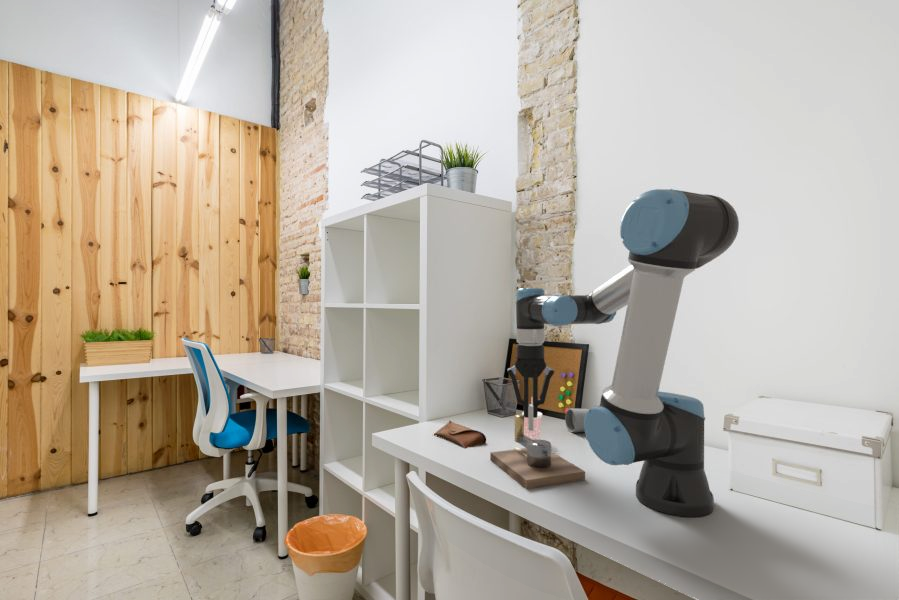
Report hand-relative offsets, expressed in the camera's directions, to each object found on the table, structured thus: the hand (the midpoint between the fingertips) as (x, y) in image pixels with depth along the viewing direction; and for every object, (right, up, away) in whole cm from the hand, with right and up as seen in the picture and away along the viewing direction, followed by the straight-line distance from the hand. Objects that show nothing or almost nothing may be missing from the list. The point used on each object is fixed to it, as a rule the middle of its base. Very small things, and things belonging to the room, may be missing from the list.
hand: (530, 429), depth 125 cm
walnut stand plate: (0, -8, -9) cm, 12 cm away
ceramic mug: (+21, -8, +26) cm, 34 cm away
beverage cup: (+3, -8, +13) cm, 15 cm away
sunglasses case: (-20, -9, +17) cm, 27 cm away
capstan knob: (-1, -5, -6) cm, 8 cm away
